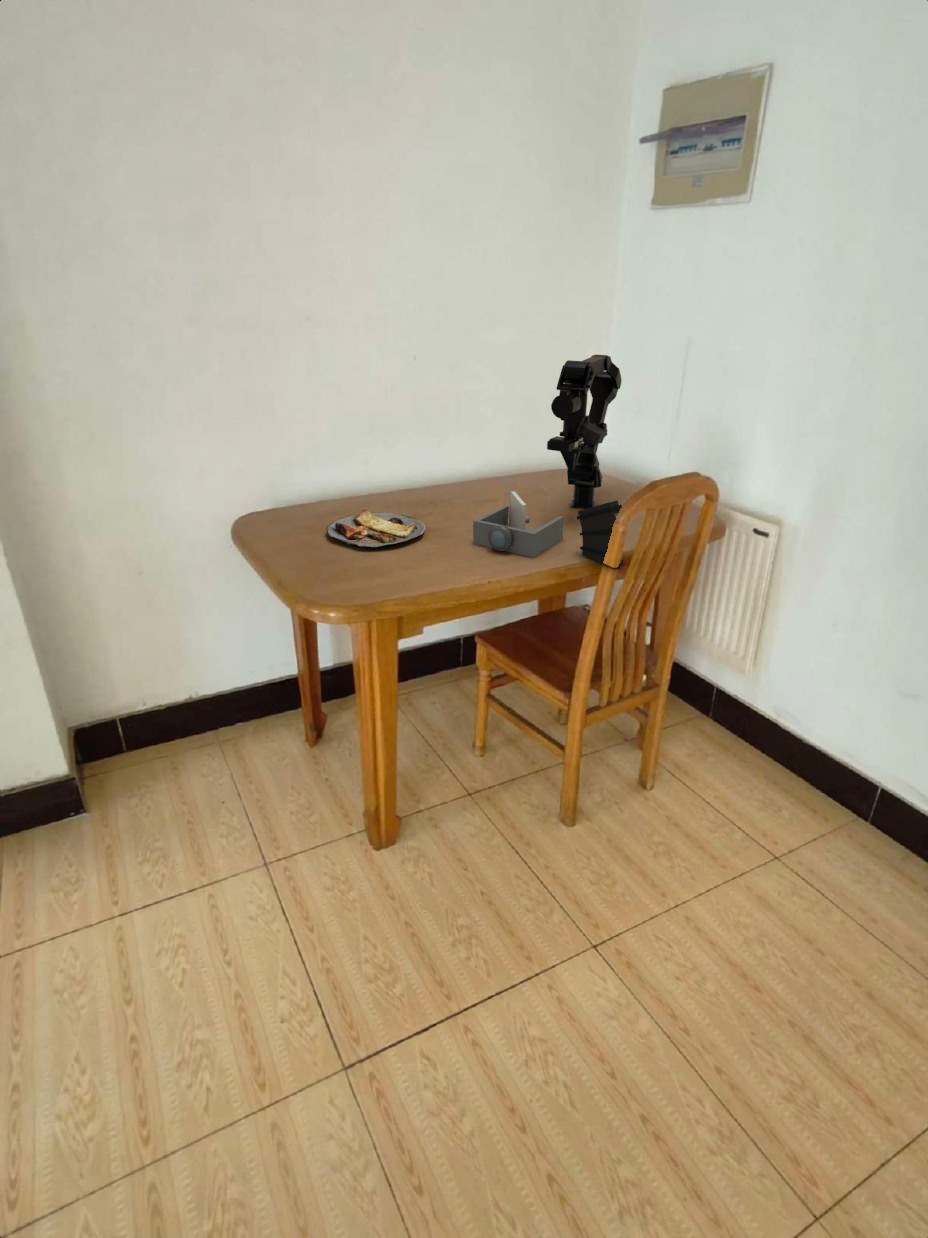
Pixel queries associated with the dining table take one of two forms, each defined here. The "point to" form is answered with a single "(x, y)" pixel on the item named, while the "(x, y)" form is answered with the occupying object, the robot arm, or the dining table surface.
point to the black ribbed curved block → (598, 529)
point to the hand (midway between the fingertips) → (571, 471)
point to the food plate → (375, 528)
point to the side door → (517, 512)
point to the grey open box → (515, 534)
